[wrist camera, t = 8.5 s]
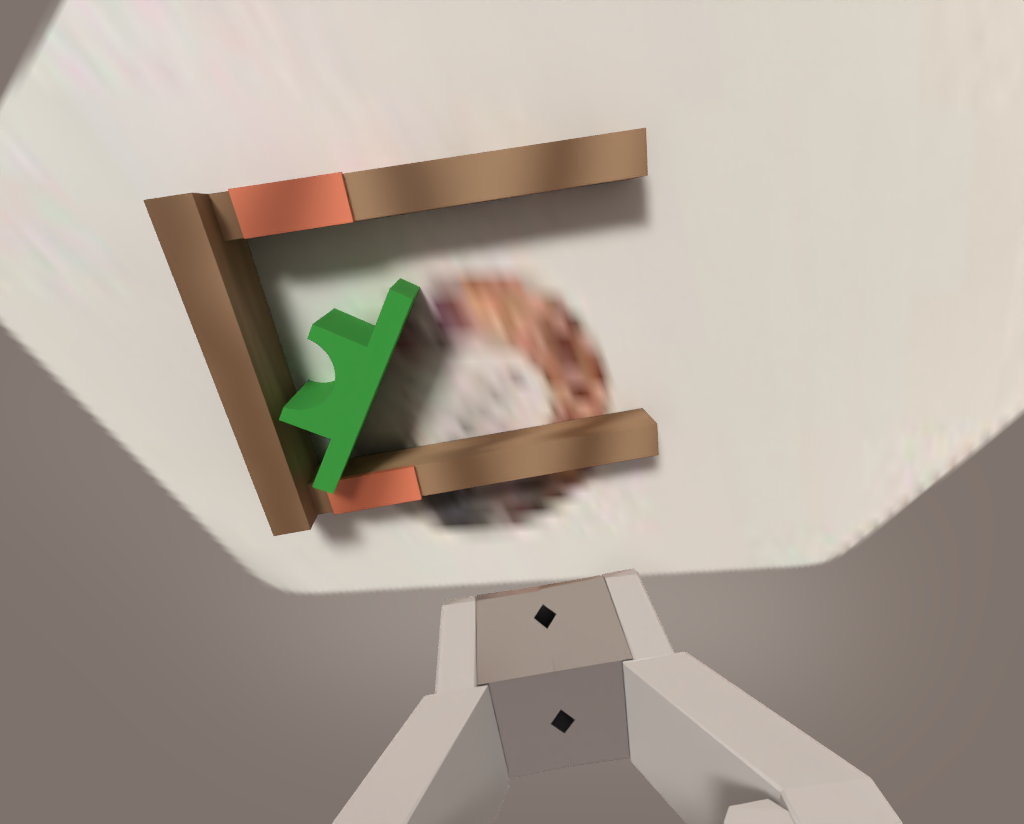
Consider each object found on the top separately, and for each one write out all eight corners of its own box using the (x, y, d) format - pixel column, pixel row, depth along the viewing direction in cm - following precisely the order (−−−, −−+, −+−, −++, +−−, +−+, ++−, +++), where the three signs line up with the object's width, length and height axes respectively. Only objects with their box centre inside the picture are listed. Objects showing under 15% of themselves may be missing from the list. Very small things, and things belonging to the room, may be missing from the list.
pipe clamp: (354, 255, 27) (333, 262, 22) (420, 286, 27) (413, 298, 23) (288, 435, 30) (260, 471, 25) (350, 457, 31) (332, 495, 26)
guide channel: (628, 134, 25) (657, 120, 22) (644, 438, 32) (668, 467, 28) (190, 201, 25) (142, 198, 21) (296, 498, 31) (273, 536, 27)
